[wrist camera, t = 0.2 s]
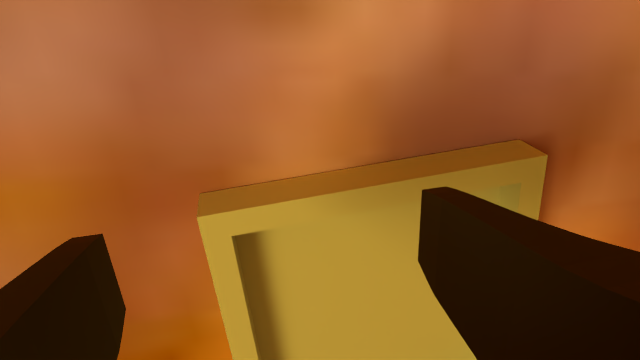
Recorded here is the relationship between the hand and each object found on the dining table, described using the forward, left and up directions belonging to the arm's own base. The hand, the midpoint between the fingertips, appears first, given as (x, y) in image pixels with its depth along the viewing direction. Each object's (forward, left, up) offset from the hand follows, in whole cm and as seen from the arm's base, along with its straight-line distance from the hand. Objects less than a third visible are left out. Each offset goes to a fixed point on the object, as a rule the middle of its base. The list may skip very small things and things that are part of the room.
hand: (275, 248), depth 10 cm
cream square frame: (-11, -5, -10) cm, 16 cm away
